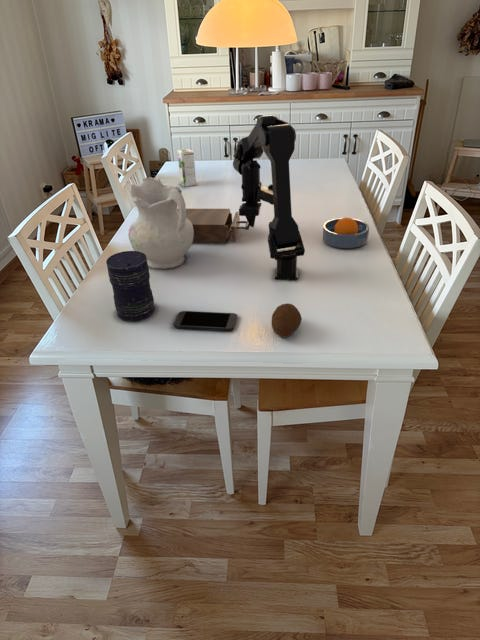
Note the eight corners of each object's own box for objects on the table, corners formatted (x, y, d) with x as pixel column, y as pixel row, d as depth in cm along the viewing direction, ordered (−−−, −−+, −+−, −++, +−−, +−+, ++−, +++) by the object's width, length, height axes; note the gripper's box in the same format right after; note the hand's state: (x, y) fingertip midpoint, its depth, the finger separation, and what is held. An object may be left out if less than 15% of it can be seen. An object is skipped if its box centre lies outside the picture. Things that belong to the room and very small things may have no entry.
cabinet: (231, 226, 170) (230, 208, 167) (225, 243, 158) (224, 224, 155) (179, 226, 172) (177, 208, 169) (170, 243, 160) (167, 224, 157)
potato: (301, 318, 119) (302, 293, 115) (301, 343, 110) (302, 317, 107) (273, 317, 120) (273, 292, 116) (270, 341, 111) (270, 316, 108)
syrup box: (180, 183, 214) (176, 150, 206) (192, 181, 216) (189, 148, 208) (184, 187, 210) (180, 152, 202) (197, 184, 212) (194, 150, 204)
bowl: (369, 250, 150) (371, 235, 147) (323, 249, 151) (324, 235, 149) (365, 232, 161) (366, 218, 159) (322, 232, 163) (322, 217, 160)
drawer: (252, 224, 168) (251, 211, 166) (248, 240, 157) (247, 226, 155) (190, 224, 171) (189, 211, 168) (182, 240, 160) (181, 226, 157)
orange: (357, 246, 153) (360, 228, 147) (333, 245, 154) (335, 228, 148) (356, 230, 158) (359, 212, 152) (333, 229, 158) (335, 212, 152)
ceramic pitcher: (214, 260, 151) (211, 179, 139) (176, 282, 136) (169, 194, 124) (159, 247, 160) (152, 171, 148) (118, 267, 146) (107, 184, 134)
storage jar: (114, 306, 127) (103, 255, 119) (150, 298, 130) (142, 247, 122) (120, 325, 120) (108, 272, 111) (158, 316, 122) (150, 263, 114)
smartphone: (179, 312, 123) (179, 309, 123) (237, 315, 121) (237, 312, 121) (172, 329, 117) (171, 325, 117) (233, 332, 115) (233, 329, 115)
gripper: (274, 189, 144) (274, 238, 153) (277, 171, 160) (277, 216, 168) (237, 189, 146) (239, 237, 154) (244, 171, 161) (246, 216, 170)
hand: (252, 226), depth 162 cm, fingers closed, pressing on drawer
